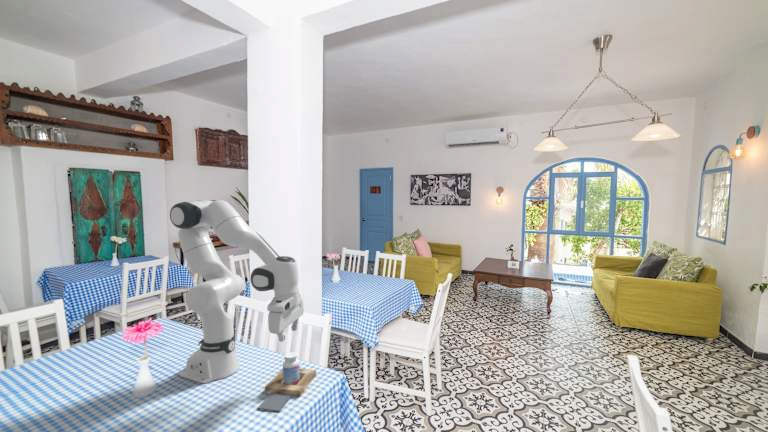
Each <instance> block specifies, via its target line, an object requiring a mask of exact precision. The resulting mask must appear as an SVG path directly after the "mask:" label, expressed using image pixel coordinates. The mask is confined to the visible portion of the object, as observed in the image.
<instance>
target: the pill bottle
mask: <svg viewBox="0 0 768 432" xmlns="http://www.w3.org/2000/svg"><path fill="white" fill-rule="evenodd" d="M282 369H283V382H282V384H289V385H297V384H298V383H299V381H300V380H301V378H300V369H301V368H300V359H298V353H297V352H294V351H291V352H287V353H285V354H284V361H283V363H282Z"/></svg>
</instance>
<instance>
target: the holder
mask: <svg viewBox="0 0 768 432" xmlns="http://www.w3.org/2000/svg"><path fill="white" fill-rule="evenodd" d="M316 376H317V370H316V369H308V368H300V381H299V383H298V384H297V385H289V384H284V383H283V368H282V369H281V370H280V371H279V372H278V373H277V374H276V375H275V376H274V377H273V378H272V379H271V380H270V381H269V382H268V383H267V384H266V385H265V386H264V393H267V392H271V393H273V394H275V393H277V394H281V395H289V396H291V397H292V396H294V397H301V396H302V394H304V393H305V391H306V389H307V388H308V387H309V385H310V384H311V383H312V382H313V380H314V379H315V377H316ZM271 393H270V394H271Z"/></svg>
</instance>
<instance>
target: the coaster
mask: <svg viewBox="0 0 768 432" xmlns="http://www.w3.org/2000/svg"><path fill="white" fill-rule="evenodd" d="M291 398H292V395H283V394H275V393H269V395H268V396H267V397H266V398H265V399H264V400H263V401H262V403H260V404H259V406H258V407H257V410H258V409H263V410H262V411H266V410H271V411H270V412H273V411H276V412H275V413H281V411H282V410H283V408H284V407H285V406H286V405H287V403H288V402H289V401H290V400H291ZM281 409H282V410H281Z"/></svg>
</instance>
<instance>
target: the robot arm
mask: <svg viewBox="0 0 768 432" xmlns="http://www.w3.org/2000/svg"><path fill="white" fill-rule="evenodd" d="M169 219H170V221H171V223H172V225H173V226H174V227H175V228H177V229H179V230H178V234H177V235H178V239H179V244H180V248H181V251H182V254H183V255H184V258H185V261H186V263H187V265H188V267H189V270H190V271H191V272H192V273H194V274H196V275H198V276H201V277H202V278H203V279H204V280H205V281H203V282H200V283H198V284H196V285H195V286H193V287H191V288H189V289H188V290H187V292H186V293H185V298H184V300H185V301H184V302H185V305H186V306H187V308H188V309H189V310H190V311H191V312H194V313H196V314H197V315H198V317H199V318H200V320H201V325H202V333H203V334H202V335H203V336H202V337H203V338H202V339H201V340H200V341H198V342H197V343H198V344H197V345H198V346H200V348H198V349H197V350H196V351H194V352H193V353H192V354H191V355H190V356H189V357H188V358H187V361H186V366H185V367H184V368H183V369H182V370H181V371H180V372H179V377H180V378H184V379H186V380H190V381H194V382H197V383H200V384H208V383H210V382H212V381H217V380H220V379H224V378H227V377H229V376H231V375H233V374H235V373H236V372H237V371H238V370H239V369H240V363H239V360H238V357H237V354H236V353H237V352H236V348H235V347H236V335H235V333H234V332H235V331H234V318H233V315H232V314H231V313H229V312H226V311H225V309H224V308H225V307H224V303H227V302H229V301H232V300H234V299H236V298H237V297H238V296H239V295H240V294H241V293H243V291H244V288H245V282H244V280H243V278H242V277H241V276H240V275H238V274H236V273H234V272H233V271H231V270H230V269H229V268H228V267H227V266H226V265H225V264H224V262H222V260H221V259H220V258H221V257H219V254H218V252H217V250H216V248H215V245H214V244H213V242H212V240H211V237H210V234H209V232H210V230H211V229H212V230H213V232H214V233H215V234H216V236H217V237H218V239H219V240H221V242H222V243H224V244H225V245H226V246H229V247H236V248H241V249H245V250H246V249H247V250H250V251H251V252H252V253H254V254H255V255H257V257H258V258H259V259H260V260H261V261H262V262H263V263H264V264H263V265H260V266H257V267H256V268H254V269H253V270H252V272H251V274H250V277H249V278H250V285H251V286H252V287H253V289H254V290H256V291H258V292H267V291H273V292H274V296H273V298H272V299H271V301H270V302H269V304H268V305H267V312H269V313H268V314H267V315H268V319H267V322H268V330H269V331H268V332H269V333H270V334H275V335H277V337H278V342H280V343H281V342H284V341H285V340H286V335H285V334H284V332H285V330H286V329H287V328H288V327H289V326H290V325H291V327H290V328H291V331H293V332H294V331H297V330H298V325H299V319H300V317H302V316H303V315H304V311H305V308H304V301H303V298H302V297H301V294H300V289H299V286H298V284H299V270H298V269H299V268H298V264H297V260H296V258H294V257H291V256H286V255H285V256H284V255H282V256H280V255H279V254H278V253H277V252H276V251H275V250H274V249H273V248H272V246H271V245H270V244H269V243H268V242H267V241H266V240H265V239H264V237H263V236H261V234H259V233H258V232H257V231H255V230H253V228H252V227H251V226H249V224H247V223H246V221H245V220H244V219H243V218H242V216H241V215H240V214H239V212H238V211H237V210H236V209H235V208H234V207H233V206H232V205H231V204H230V203H229V202H227V201H226V200H222V199H217V200H215V199H211V200H210V199H209V200H208V199H207V200H206V199H198V200H191V201H181V202H179V203H175V204H174V205H173V206H172V207H171V208H170V212H169Z"/></svg>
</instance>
